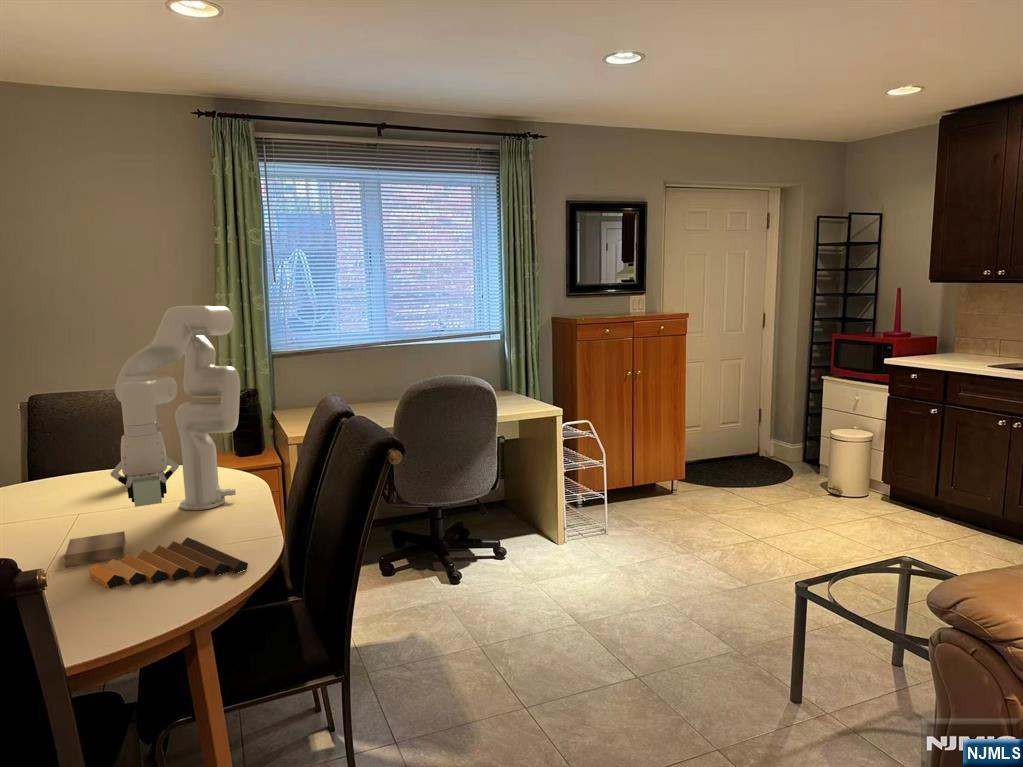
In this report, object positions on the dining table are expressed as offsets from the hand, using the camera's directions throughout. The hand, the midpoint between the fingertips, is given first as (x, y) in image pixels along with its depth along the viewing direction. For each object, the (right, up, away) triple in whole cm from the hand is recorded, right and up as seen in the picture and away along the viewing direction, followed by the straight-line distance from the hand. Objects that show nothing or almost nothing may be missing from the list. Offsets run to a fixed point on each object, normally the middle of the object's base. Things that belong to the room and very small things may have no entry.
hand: (148, 497), depth 178 cm
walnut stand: (-11, -13, -4) cm, 18 cm away
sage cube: (0, -1, 0) cm, 1 cm away
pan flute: (+13, -16, -16) cm, 26 cm away
